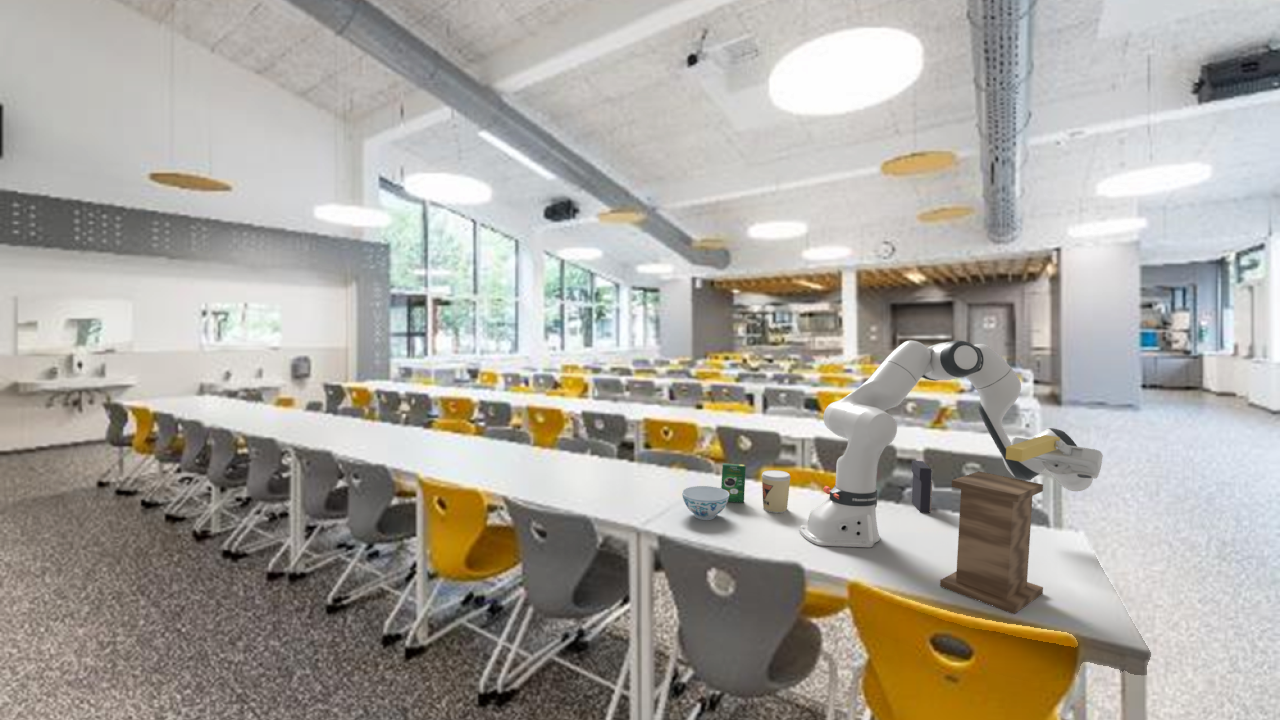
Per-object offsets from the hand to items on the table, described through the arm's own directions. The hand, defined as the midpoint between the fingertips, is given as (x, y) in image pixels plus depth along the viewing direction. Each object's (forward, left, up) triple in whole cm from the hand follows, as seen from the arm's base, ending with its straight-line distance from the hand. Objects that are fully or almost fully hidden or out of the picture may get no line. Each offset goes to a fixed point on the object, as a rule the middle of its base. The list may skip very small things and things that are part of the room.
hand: (1046, 441), depth 153 cm
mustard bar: (-7, -4, -2) cm, 8 cm away
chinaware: (-81, +42, -32) cm, 97 cm away
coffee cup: (-56, +47, -32) cm, 80 cm away
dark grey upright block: (-6, +44, -32) cm, 55 cm away
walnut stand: (-25, -14, -32) cm, 43 cm away
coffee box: (-68, +56, -32) cm, 94 cm away
